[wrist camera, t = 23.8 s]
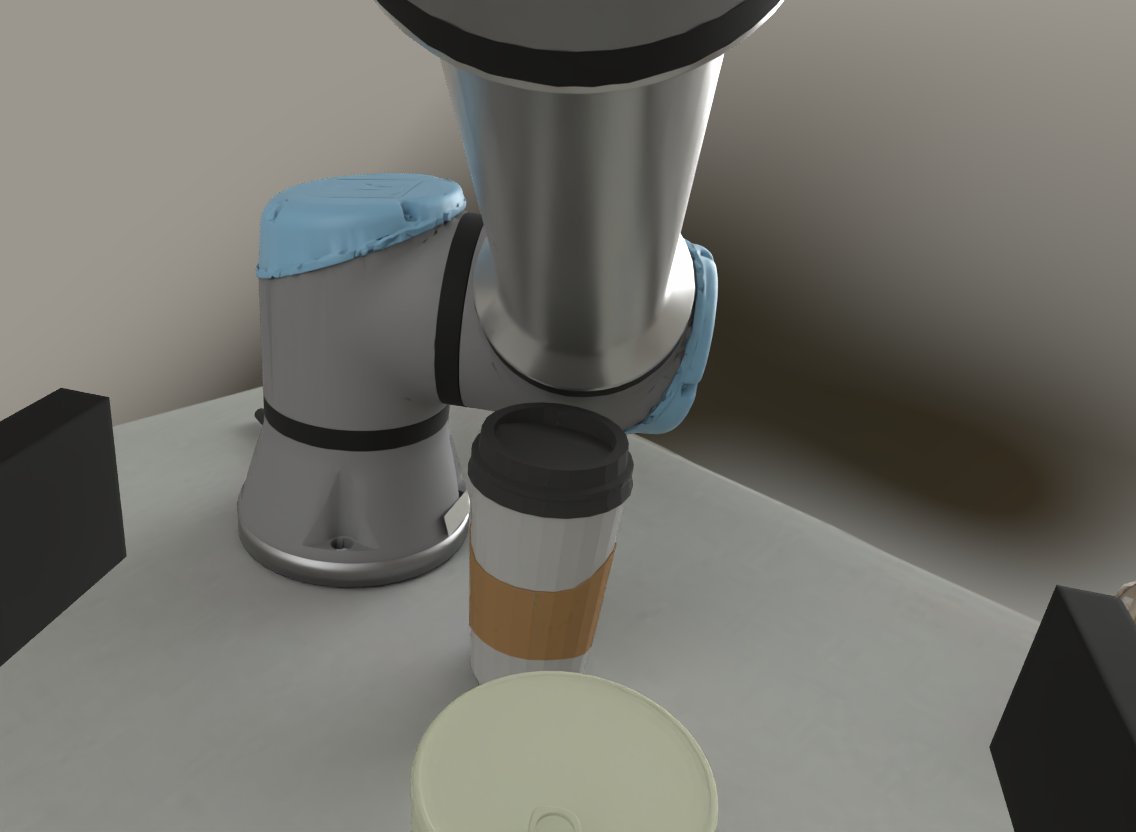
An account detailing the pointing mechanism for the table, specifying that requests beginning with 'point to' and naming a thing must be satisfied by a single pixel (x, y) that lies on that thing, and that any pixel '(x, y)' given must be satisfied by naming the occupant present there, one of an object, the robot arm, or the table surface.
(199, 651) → the table surface
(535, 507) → the coffee cup
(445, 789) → the can
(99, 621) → the table surface
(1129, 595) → the ornate beige goblet
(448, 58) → the robot arm
